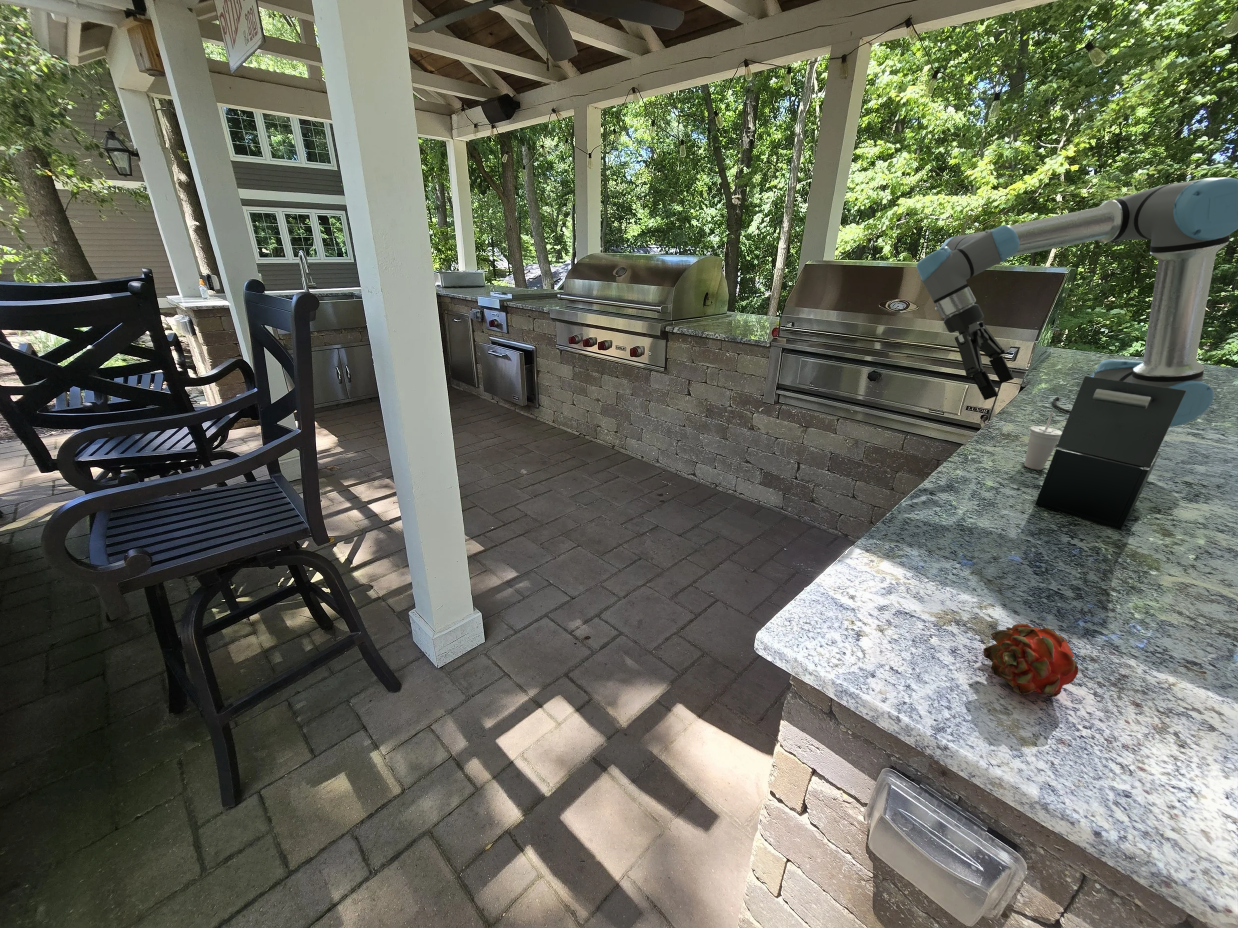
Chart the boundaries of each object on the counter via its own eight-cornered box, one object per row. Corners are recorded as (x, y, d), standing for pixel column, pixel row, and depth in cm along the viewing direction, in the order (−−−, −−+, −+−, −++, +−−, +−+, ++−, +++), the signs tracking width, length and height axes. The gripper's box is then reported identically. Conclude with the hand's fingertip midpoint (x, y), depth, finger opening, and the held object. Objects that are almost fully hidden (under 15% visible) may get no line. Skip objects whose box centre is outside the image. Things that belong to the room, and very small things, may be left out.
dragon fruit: (993, 713, 60) (1017, 674, 68) (1083, 718, 54) (1099, 675, 62) (964, 642, 62) (992, 612, 69) (1049, 639, 55) (1069, 607, 63)
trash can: (1052, 487, 114) (1072, 434, 109) (1133, 509, 104) (1160, 452, 99) (1034, 504, 106) (1055, 448, 101) (1120, 530, 96) (1148, 470, 91)
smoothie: (1045, 464, 126) (1065, 411, 120) (1053, 473, 121) (1074, 418, 115) (1014, 460, 129) (1032, 408, 123) (1021, 469, 123) (1040, 415, 118)
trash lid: (1085, 376, 97) (1075, 377, 91) (1186, 390, 87) (1183, 392, 81) (1057, 446, 101) (1046, 452, 95) (1150, 467, 91) (1144, 475, 86)
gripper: (959, 309, 130) (996, 380, 131) (924, 330, 116) (966, 411, 116) (991, 293, 124) (1030, 368, 124) (959, 314, 110) (1003, 399, 110)
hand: (999, 389), depth 120 cm, fingers open, 13 cm apart
